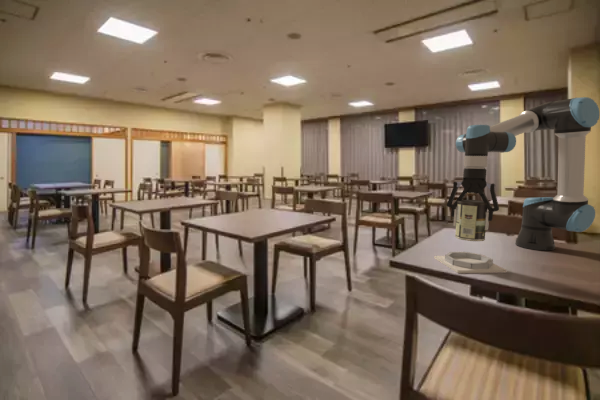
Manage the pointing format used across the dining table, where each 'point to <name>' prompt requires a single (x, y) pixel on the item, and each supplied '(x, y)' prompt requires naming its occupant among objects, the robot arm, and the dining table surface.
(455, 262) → the can holder
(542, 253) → the dining table surface
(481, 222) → the coffee can
